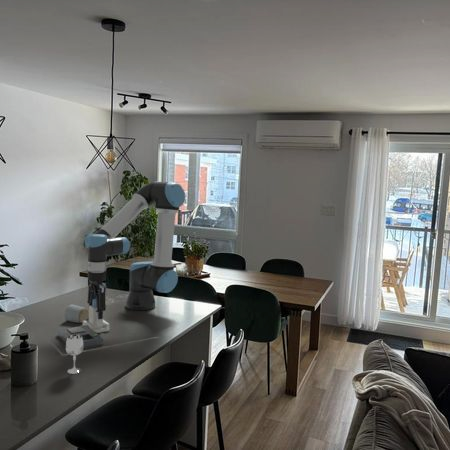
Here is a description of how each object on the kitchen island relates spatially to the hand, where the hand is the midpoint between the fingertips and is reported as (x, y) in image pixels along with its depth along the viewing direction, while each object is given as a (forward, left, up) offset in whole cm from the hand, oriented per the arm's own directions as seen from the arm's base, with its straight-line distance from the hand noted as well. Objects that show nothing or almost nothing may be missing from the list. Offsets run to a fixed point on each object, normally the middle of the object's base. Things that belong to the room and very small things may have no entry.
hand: (95, 323), depth 194 cm
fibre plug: (0, 0, -3) cm, 3 cm away
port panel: (+10, +9, -3) cm, 14 cm away
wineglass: (+21, +35, -3) cm, 41 cm away
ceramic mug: (+2, -16, -3) cm, 16 cm away
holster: (0, 0, -3) cm, 3 cm away
